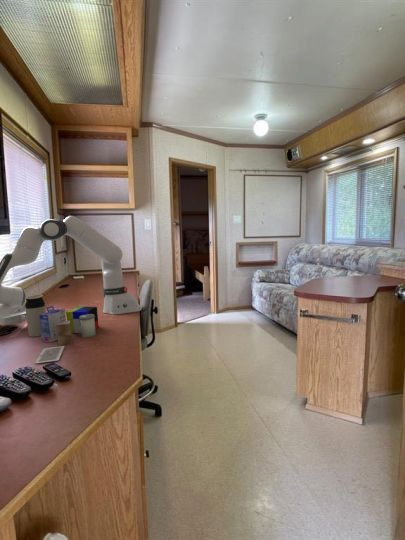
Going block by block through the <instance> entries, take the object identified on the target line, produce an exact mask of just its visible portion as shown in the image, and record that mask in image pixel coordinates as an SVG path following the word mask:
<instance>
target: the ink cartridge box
mask: <svg viewBox="0 0 405 540" xmlns="http://www.w3.org/2000/svg"><path fill="white" fill-rule="evenodd" d="M50 308H51V309H50ZM45 310H46V311H47V312H46V313H44V314H41V315H39V316H40V323H41V330H42V335H41V336H42V341H43V343H45V342H46V343H53V342H55V341H58V335H57V322H61V321H67V317H66V310H65V309H64V308H55V307H54V305H51V306H47V307H46V306H45Z"/></svg>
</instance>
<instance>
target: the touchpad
mask: <svg viewBox="0 0 405 540" xmlns="http://www.w3.org/2000/svg"><path fill="white" fill-rule="evenodd" d="M64 349H65V345H63V346H59V345H58V346H54V347H53V346H52V347H45V348H44V347H43V348H42V351H40V354H39V356H38V357H37V359H36V361H35V362H34V364H41V363H47V362H49V363H50V362H56V361H59V360H60V359H61V355H62V353H63V352H64Z"/></svg>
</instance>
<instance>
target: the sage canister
mask: <svg viewBox="0 0 405 540" xmlns="http://www.w3.org/2000/svg"><path fill="white" fill-rule="evenodd" d="M94 318H95V315H94V314H85V315H81V316H80V317H79V319H80V324H81V333H80V334H81V337H82V338H91V337H94V336H96V328H95V321H94Z"/></svg>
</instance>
